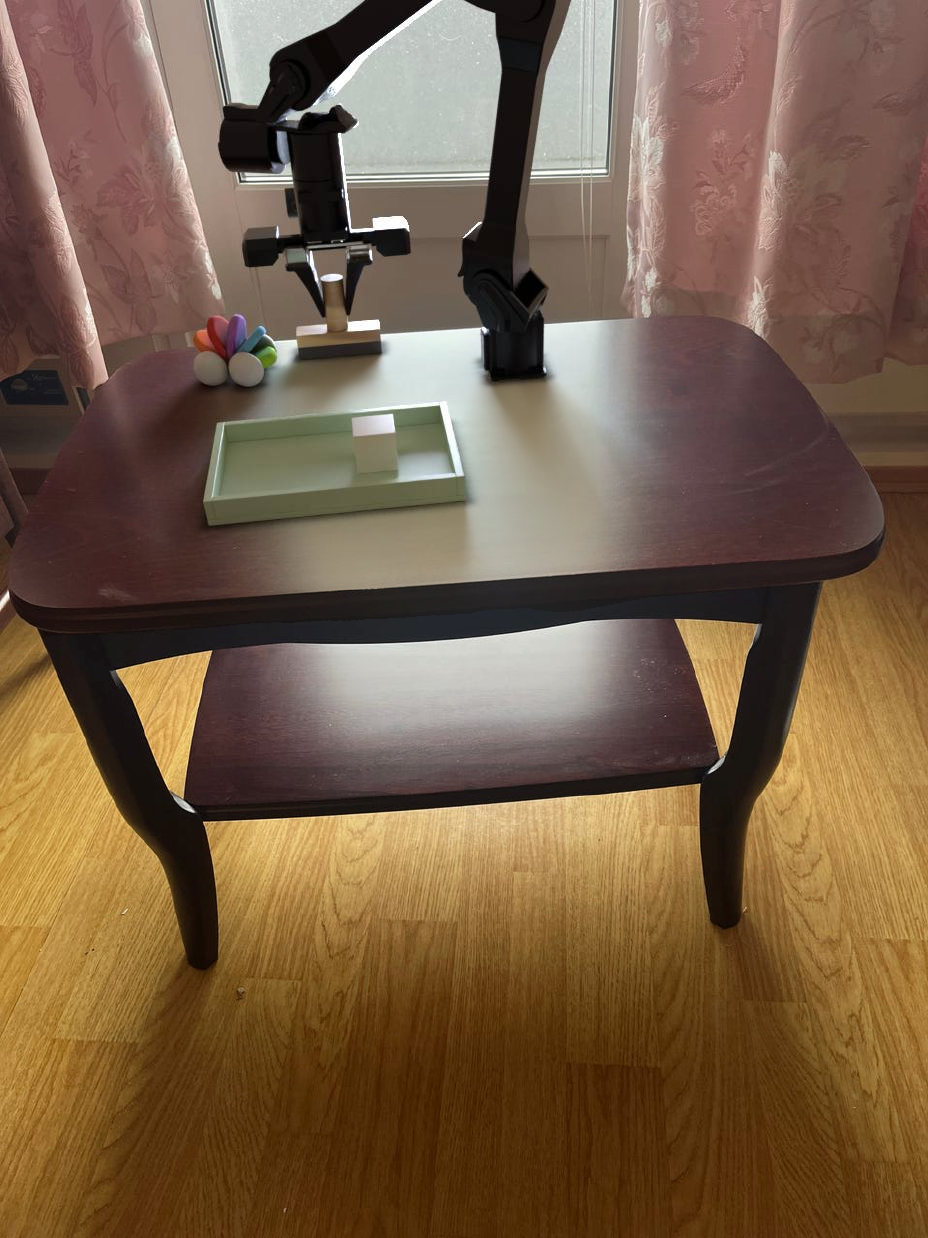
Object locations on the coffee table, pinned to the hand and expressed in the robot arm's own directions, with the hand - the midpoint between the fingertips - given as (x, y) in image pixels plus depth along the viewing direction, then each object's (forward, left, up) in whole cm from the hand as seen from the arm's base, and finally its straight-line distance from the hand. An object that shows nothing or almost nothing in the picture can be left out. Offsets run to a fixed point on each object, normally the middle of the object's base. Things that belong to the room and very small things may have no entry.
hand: (336, 315), depth 113 cm
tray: (+1, +29, -4) cm, 30 cm away
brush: (0, 0, -4) cm, 4 cm away
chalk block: (-3, +29, -4) cm, 30 cm away
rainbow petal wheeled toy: (+12, +4, -5) cm, 14 cm away
